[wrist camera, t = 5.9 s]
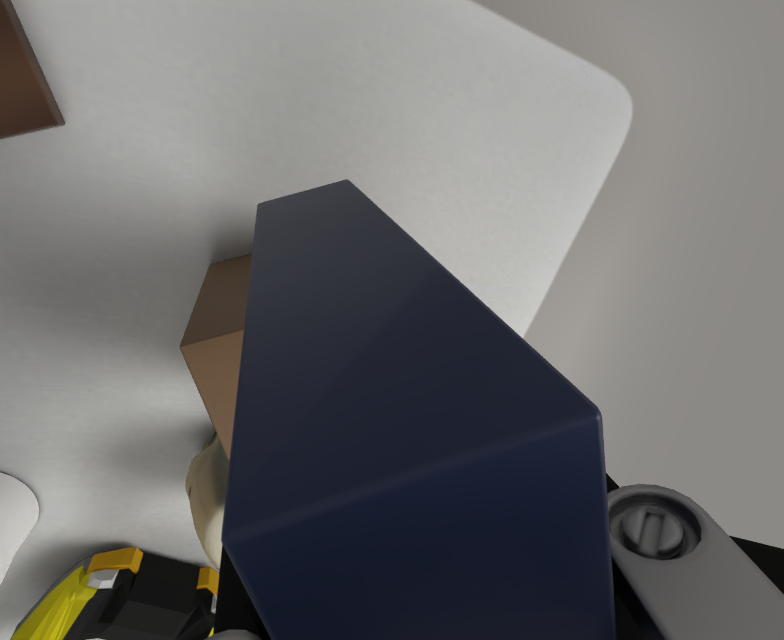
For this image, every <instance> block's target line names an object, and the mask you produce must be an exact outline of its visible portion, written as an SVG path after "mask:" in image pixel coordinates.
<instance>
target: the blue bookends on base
mask: <svg viewBox="0 0 784 640" xmlns="http://www.w3.org/2000/svg"><path fill="white" fill-rule="evenodd" d="M62 125H65V121H64V119H63V117H62V115H61V112H60V110H59V108H58V106H57V103H56V101H55V99H54V97H53V94H52V92H51V90H50V88H49V85H48V83H47V81H46V79H45V76H44V74H43V72H42V70H41V67H40V65H39V63H38V61H37V58H36V56H35V54H34V52H33V49H32V47H31V45H30V43H29V40H28V38H27V36H26V34H25V31H24V29H23V27H22V25H21V22H20V20H19V18H18V16H17V13H16V11H15V9H14V7H13V4H12V2H11V0H0V139H4V138H8V137H13V136H17V135H22V134H26V133H31V132H35V131H40V130H44V129H49V128H53V127H58V126H62Z"/></svg>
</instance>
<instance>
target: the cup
mask: <svg viewBox="0 0 784 640" xmlns="http://www.w3.org/2000/svg"><path fill="white" fill-rule="evenodd" d="M38 516H39V506H38V501H37V500H36V498H35V496H34V494H33V492H32V491H31V490H30V489H29V488H28V487H27V486H26V485H25V484H24V483H22V482H20V481H19V480H17V479H16V478H14V477H12V476H9V475H6V474H4V473H1V472H0V585H1V583H2V581H3V578H4V576H5V574H6V572H7V570H8V568H9V566H10V563H11V561H12V559H13V557H14V555H15V553H16V551H17V550H18V548H19V547H20V546H21V544H22V543H23V542H24V540H25V539H26V537H27V536H28V535H29V533H30V532H31V530H32V529H33V527H34V526H35V525H36V523H37V520H38Z"/></svg>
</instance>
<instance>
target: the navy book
mask: <svg viewBox="0 0 784 640" xmlns="http://www.w3.org/2000/svg"><path fill="white" fill-rule="evenodd" d="M602 426H603V425H602V416H601V412H600V411H599V409H598V407H597V406H596V405H595V404H594V403H592V401H590V400H589V399H588V398H587V397H586V396H585V395H584V394H583V393H581V392H580V391H579V390H578V389H577V388H576V387H575V386H574V385H573V384H572V383H571V382H570V381H569V380H567V379H566V378H565V377H564V376H563V375H562V374H561V373H560V372H559V371H558V370H556V369H555V368H554V367H553V366H552V365H551V364H550V363H549V362H548V361H547V360H546V359H544V358H543V357H542V356H541V355H540V354H539V353H538V352H537V351H536V350H535V349H533V348H532V347H531V346H530V345H529V344H528V343H527V342H526V341H525V340H524V339H523V338H521V337H520V336H519V335H518V334H517V333H516V332H515V331H514V330H513V329H512V328H510V327H509V326H508V325H507V324H506V323H505V322H504V321H503V320H502V319H501V318H499V317H498V316H497V315H496V314H495V313H494V312H493V311H492V310H491V309H490V308H489V307H487V306H486V305H485V304H484V303H483V302H482V301H481V300H480V299H479V298H478V297H476V296H475V295H474V294H473V293H472V292H471V291H470V290H469V289H468V288H467V287H465V286H464V285H463V284H462V283H461V282H460V281H459V280H458V279H457V278H456V277H455V276H453V275H452V274H451V273H450V272H449V271H448V270H447V269H446V268H445V267H444V266H442V265H441V264H440V263H439V262H438V261H437V260H436V259H435V258H434V257H433V256H431V255H430V254H429V253H428V252H427V251H426V250H425V249H424V248H423V247H422V246H421V245H419V244H418V243H417V242H416V241H415V240H414V239H413V238H412V237H411V236H410V235H408V234H407V233H406V232H405V231H404V230H403V229H402V228H401V227H400V226H399V225H398V224H396V223H395V222H394V221H393V220H392V219H391V218H390V217H389V216H388V215H387V214H385V213H384V212H383V211H382V210H381V209H380V208H379V207H378V206H377V205H376V204H374V203H373V202H372V201H371V200H370V199H369V198H368V197H367V196H366V195H365V194H364V193H362V192H361V191H360V190H359V189H358V188H357V187H356V186H355V185H354V184H353V183H351V182H350V181H349V180H343V181H339V182H336V183H332V184H328V185H325V186H321V187H317V188H314V189H310V190H306V191H303V192H299V193H295V194H292V195H288V196H284V197H281V198H277V199H273V200H270V201H266V202H262V203H259V204H258V205H257V214H256V223H255V233H254V242H253V251H252V260H251V269H250V278H249V287H248V296H247V306H246V315H245V324H244V333H243V342H242V351H241V360H240V369H239V379H238V388H237V397H236V406H235V415H234V424H233V433H232V442H231V451H230V461H229V470H228V479H227V488H226V497H225V506H224V515H223V524H222V534H221V542H222V544H223V546H224V548H225V550H226V552H227V554H228V556H229V558H230V560H231V562H232V564H233V566H234V568H235V570H236V571H237V573H238V575H239V577H240V579H241V581H242V583H243V585H244V587H245V589H246V591H247V593H248V595H249V597H250V599H251V601H252V603H253V605H254V607H255V609H256V611H257V612H258V614H259V616H260V618H261V620H262V622H263V624H264V626H265V628H266V630H267V632H268V634H269V636H270V638H271V640H617V633H616V618H615V603H614V588H613V573H612V559H611V544H610V529H609V514H608V499H607V485H606V470H605V456H604V440H603V427H602Z"/></svg>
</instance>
